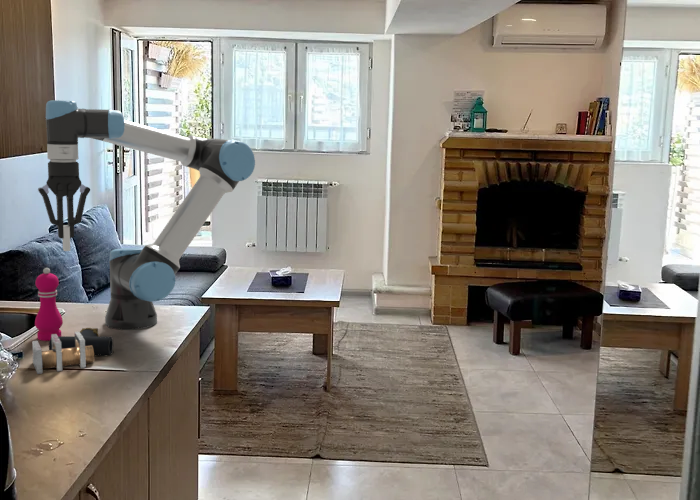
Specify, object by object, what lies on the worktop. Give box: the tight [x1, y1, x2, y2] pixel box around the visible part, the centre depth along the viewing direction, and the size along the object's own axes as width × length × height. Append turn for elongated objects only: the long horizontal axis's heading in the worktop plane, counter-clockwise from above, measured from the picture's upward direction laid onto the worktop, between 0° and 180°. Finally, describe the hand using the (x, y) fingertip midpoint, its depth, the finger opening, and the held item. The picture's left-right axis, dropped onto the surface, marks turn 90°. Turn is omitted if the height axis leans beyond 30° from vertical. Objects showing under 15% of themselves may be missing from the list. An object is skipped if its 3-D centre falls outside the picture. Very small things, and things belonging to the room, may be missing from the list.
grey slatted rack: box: [31, 331, 87, 375], centre depth 185 cm, size 11×9×7 cm
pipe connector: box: [48, 327, 114, 357], centre depth 197 cm, size 12×5×15 cm
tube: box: [42, 345, 95, 370], centre depth 186 cm, size 12×4×4 cm, turn 119°
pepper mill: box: [34, 267, 64, 342], centre depth 206 cm, size 7×7×20 cm
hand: (66, 250), depth 196 cm, fingers closed
